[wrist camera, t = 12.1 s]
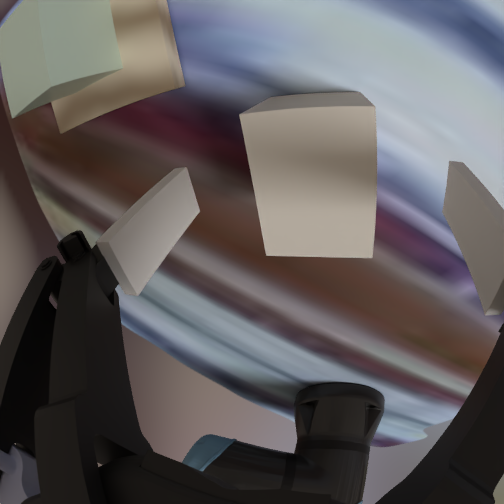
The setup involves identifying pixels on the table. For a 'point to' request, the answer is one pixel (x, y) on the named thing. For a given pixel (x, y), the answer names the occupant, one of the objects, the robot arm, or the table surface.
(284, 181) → the cream brick
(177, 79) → the base plate
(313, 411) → the robot arm
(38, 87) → the sage brick
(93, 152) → the table surface
